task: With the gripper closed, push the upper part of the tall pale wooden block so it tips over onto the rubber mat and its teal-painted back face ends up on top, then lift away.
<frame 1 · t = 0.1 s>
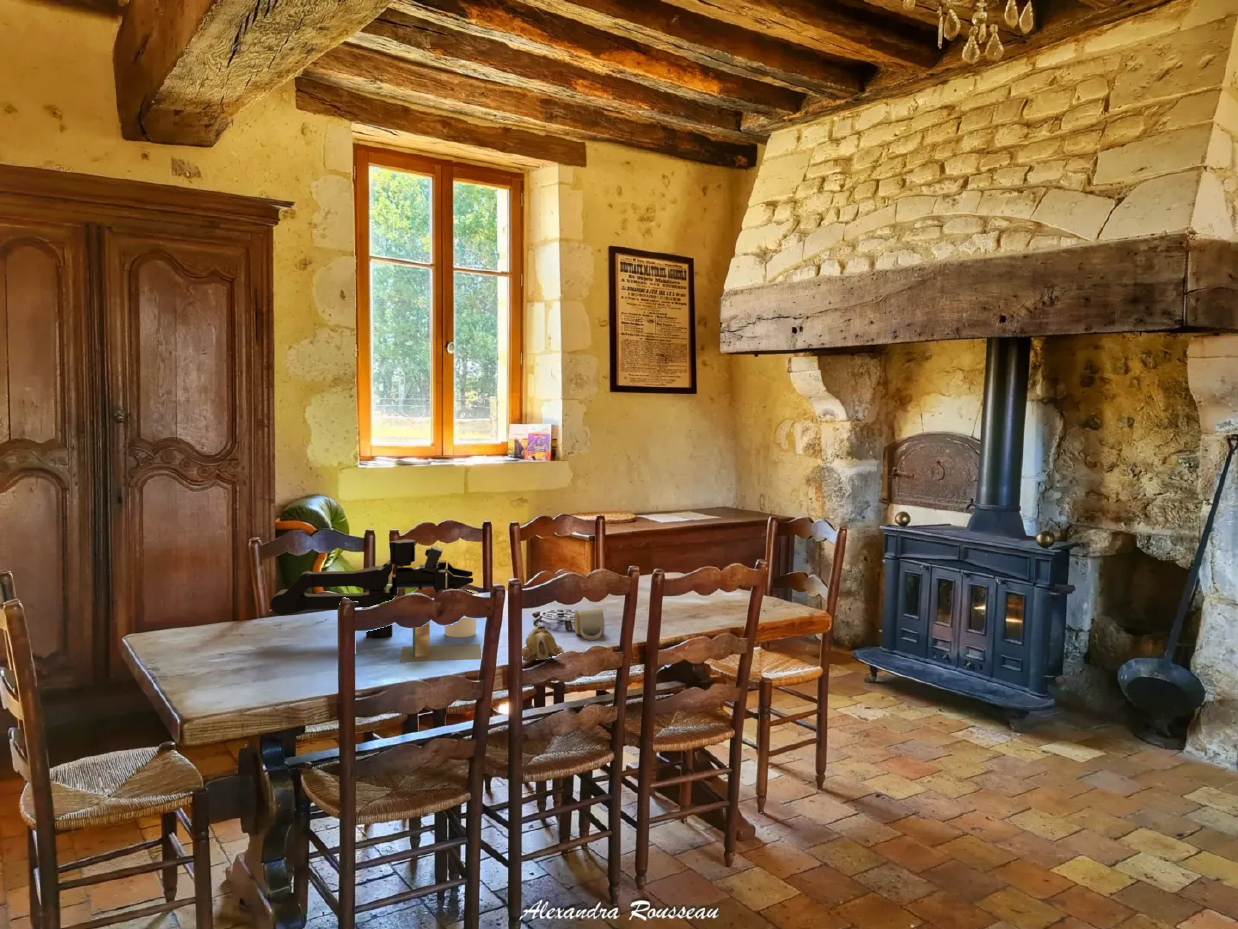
hand: (472, 576, 248), 17 cm above the table, fingers open, 9 cm apart
candle holder: (460, 636, 248), on the table
wooden block: (421, 653, 228), point 1 cm above the table, touching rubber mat
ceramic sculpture: (541, 660, 227), on the table
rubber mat: (441, 655, 229), on the table
ceramic mug: (590, 636, 251), on the table
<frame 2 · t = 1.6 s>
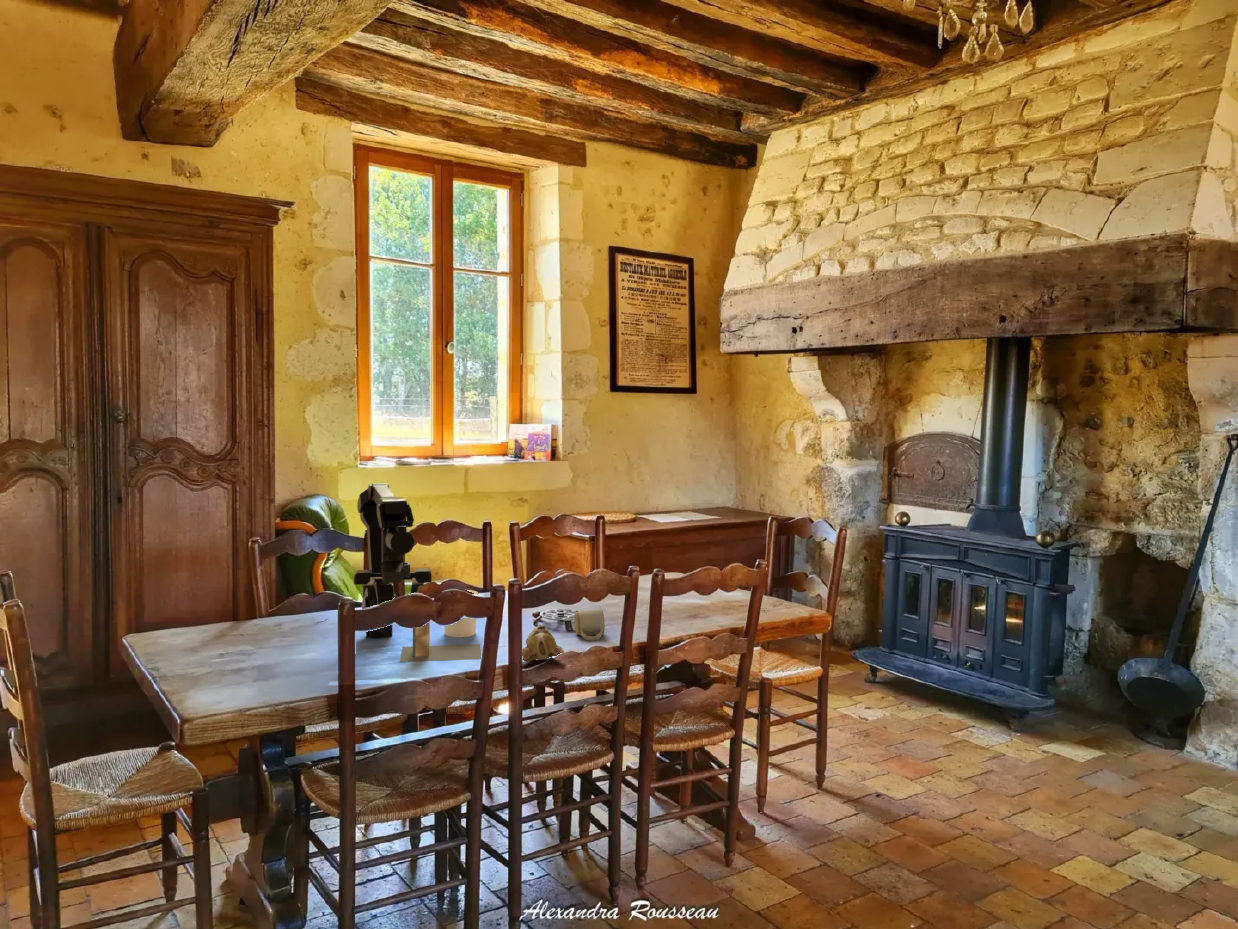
hand: (393, 610, 226), 12 cm above the table, fingers open, 8 cm apart
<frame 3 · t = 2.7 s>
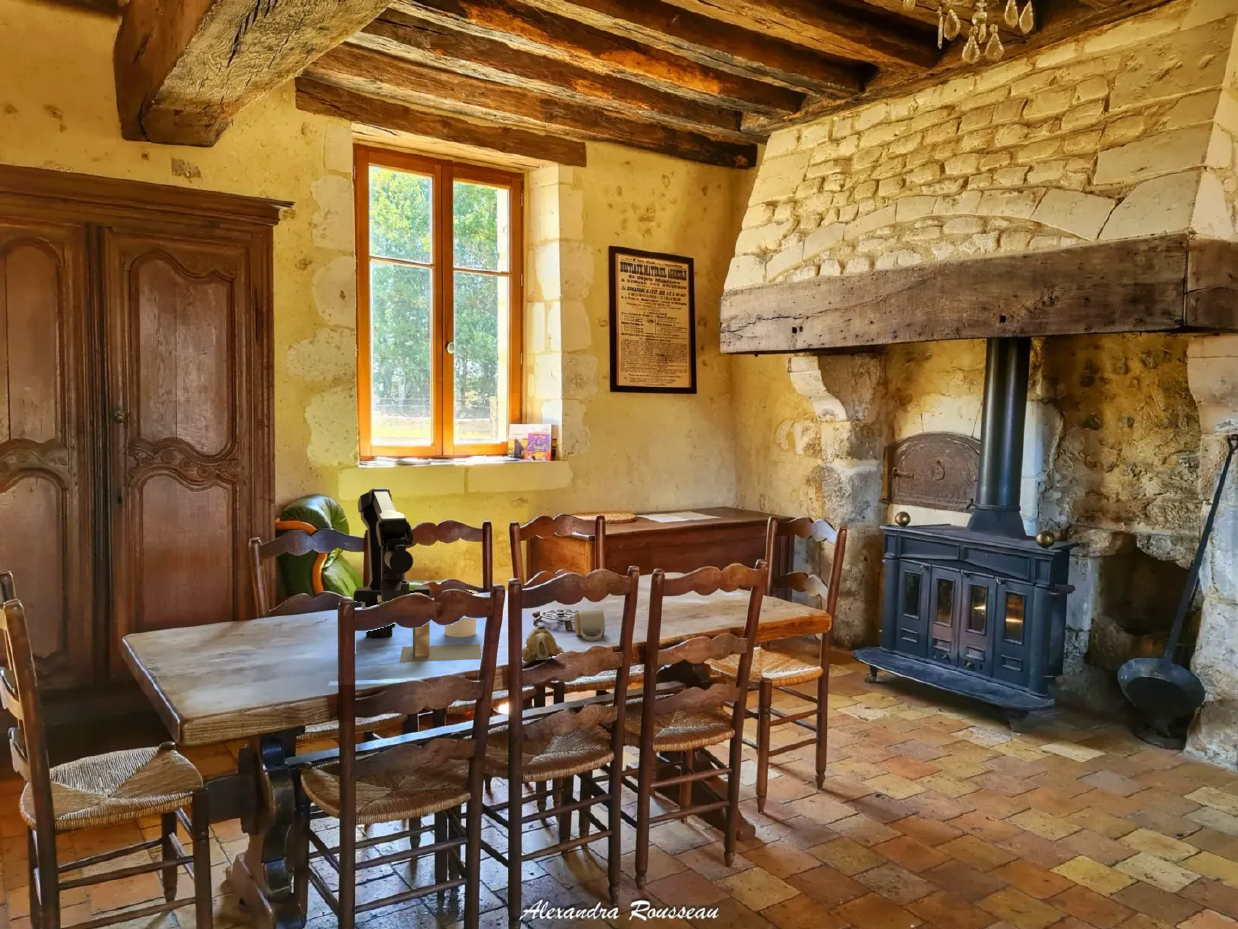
hand: (392, 627, 226), 8 cm above the table, fingers closed
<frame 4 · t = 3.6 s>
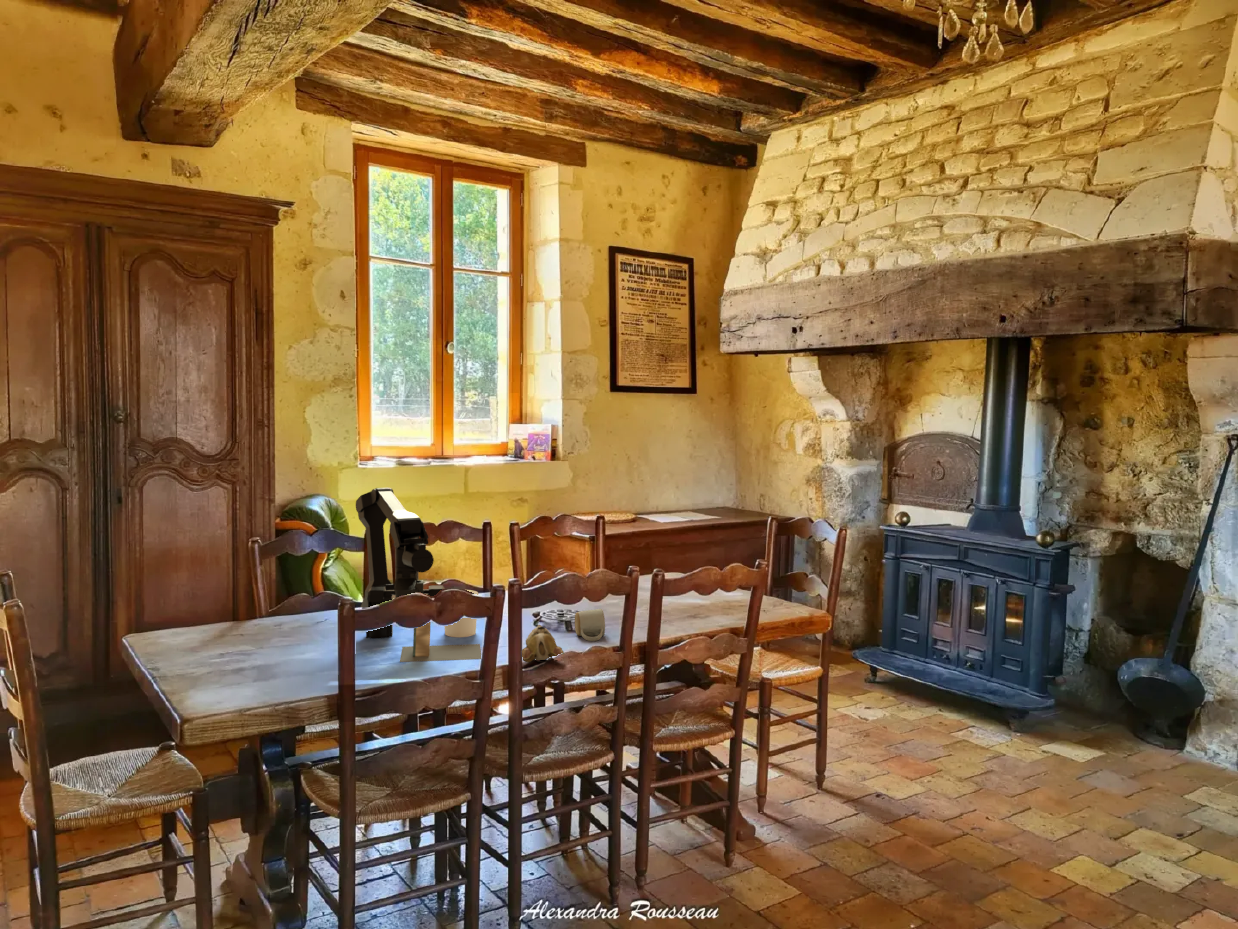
hand: (407, 627, 226), 8 cm above the table, fingers closed
wooden block: (421, 653, 228), point 1 cm above the table, touching gripper, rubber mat
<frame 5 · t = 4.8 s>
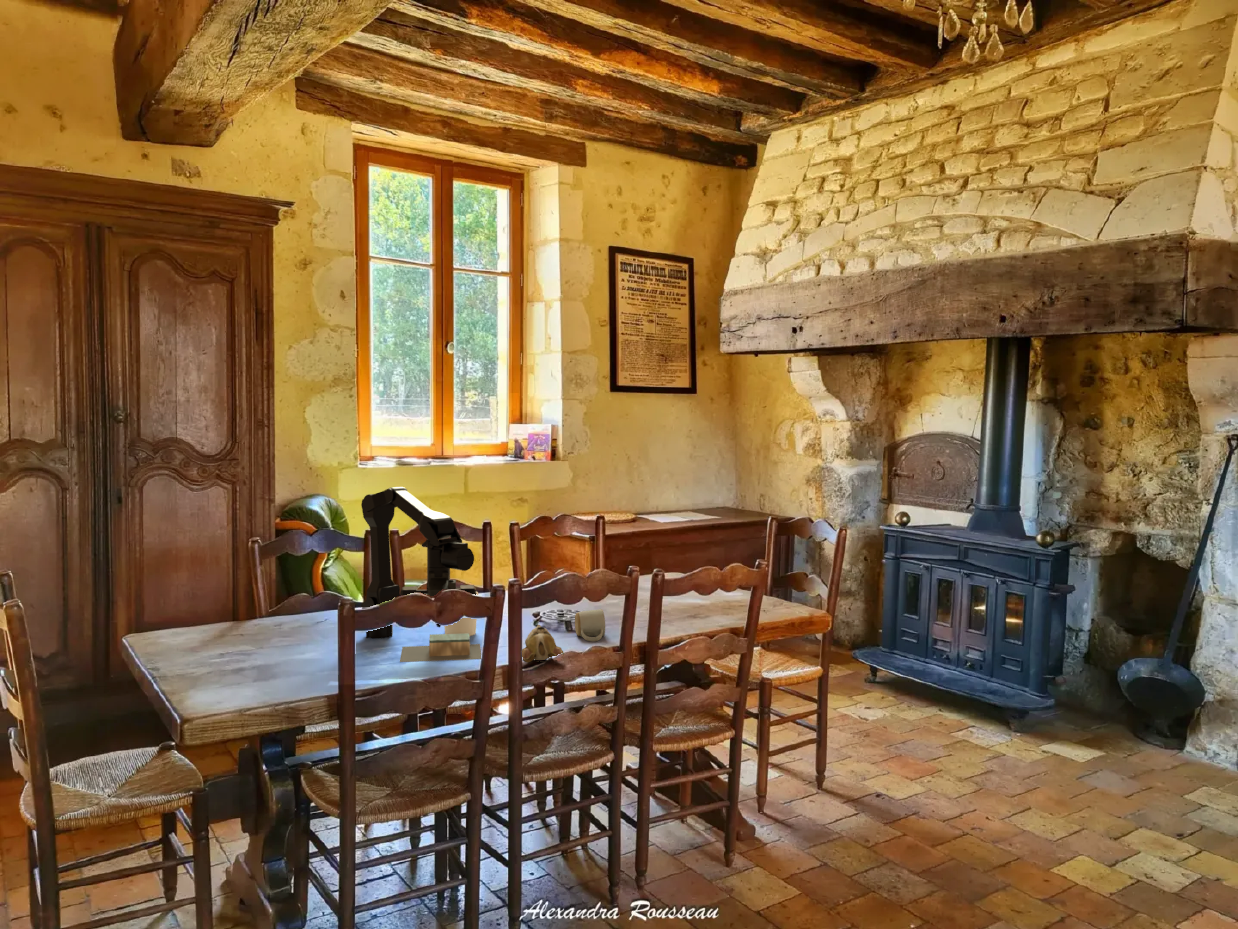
hand: (438, 626, 228), 8 cm above the table, fingers closed
wooden block: (429, 645, 228), point 3 cm above the table, tilted 90°, touching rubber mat
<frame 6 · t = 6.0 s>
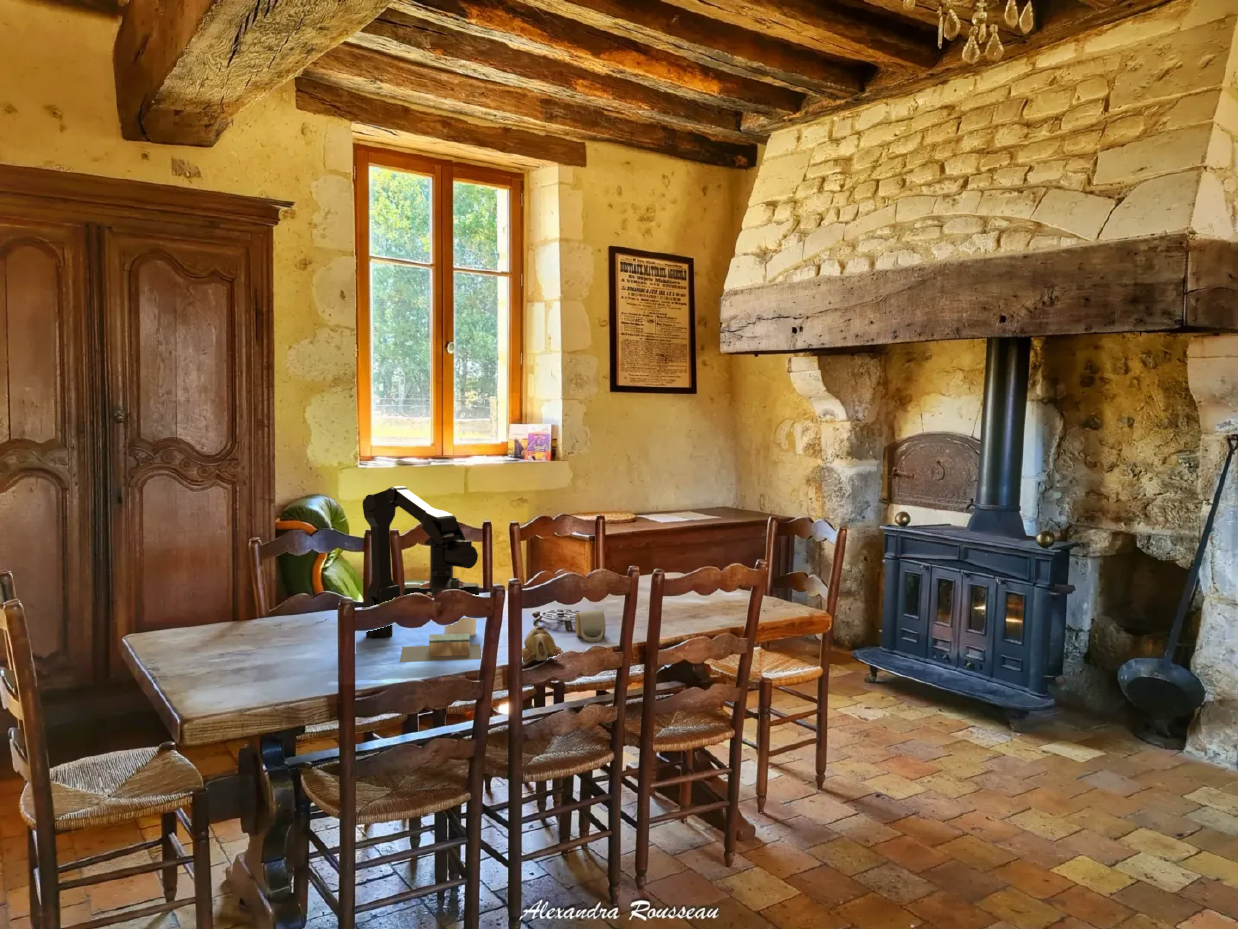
hand: (441, 624, 228), 8 cm above the table, fingers closed
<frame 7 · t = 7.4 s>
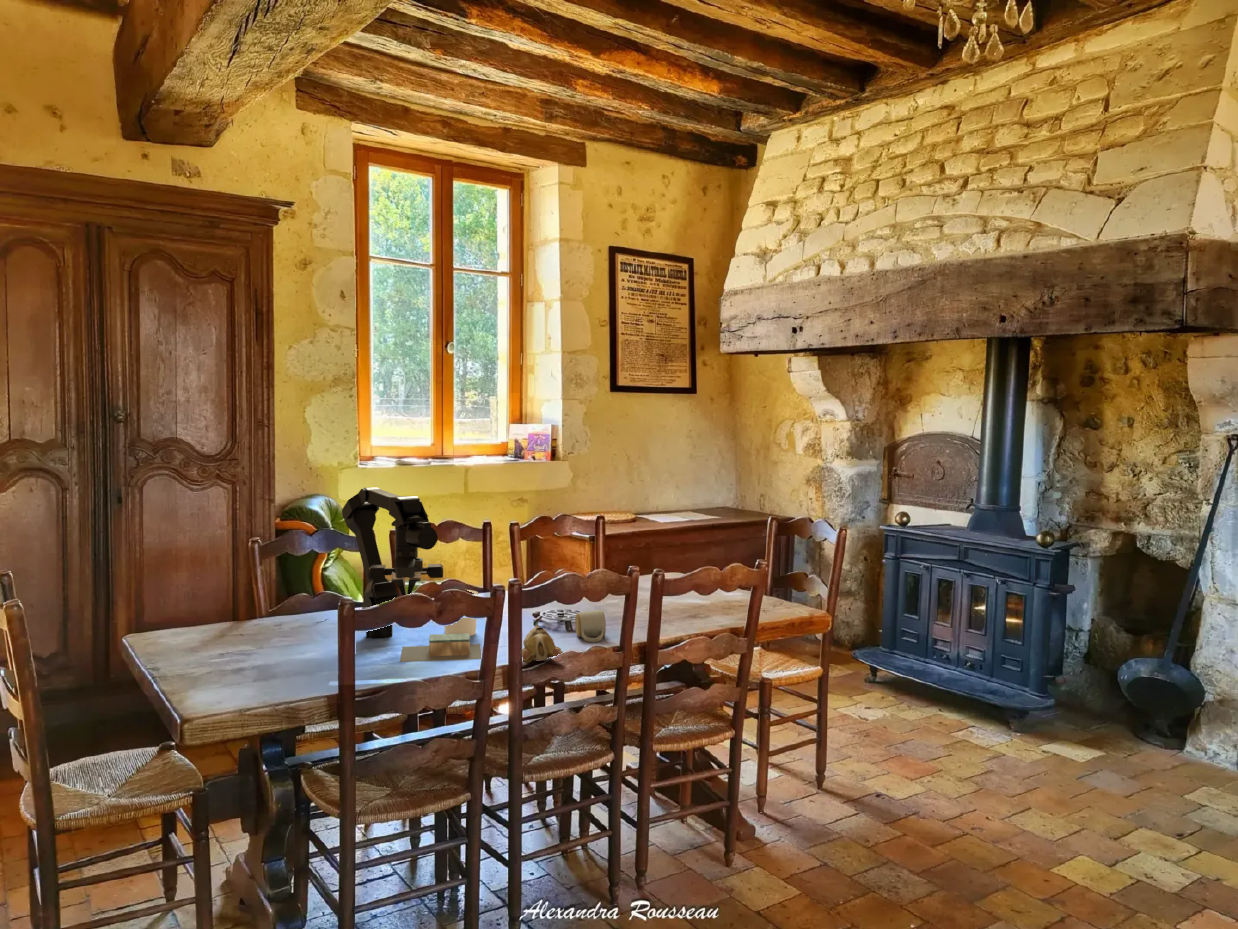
hand: (406, 604, 233), 12 cm above the table, fingers closed
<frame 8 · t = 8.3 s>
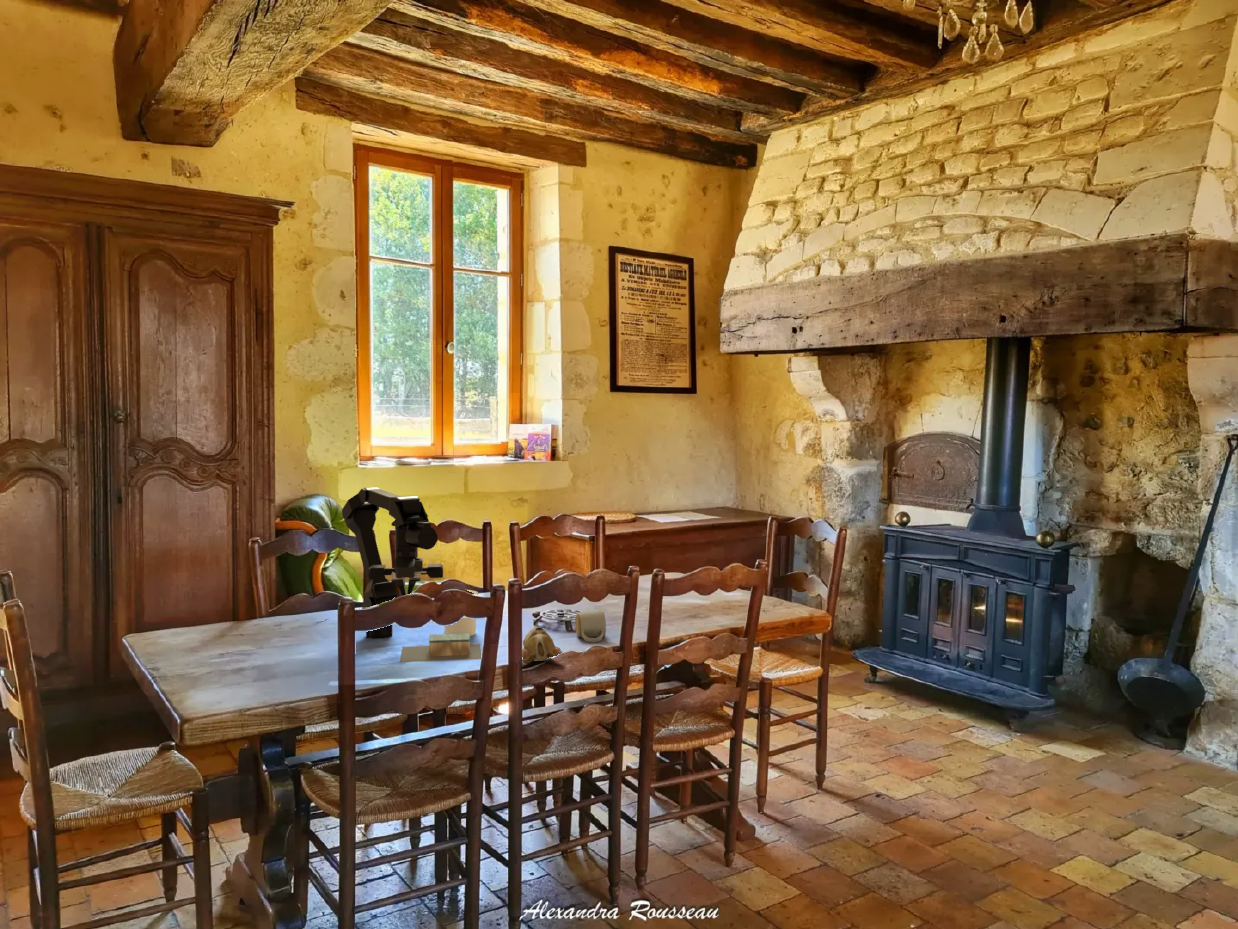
hand: (406, 604, 233), 12 cm above the table, fingers closed
at the end: wooden block tilted 90°; wooden block inside the target area (1.0 cm from its centre), point 2.8 cm above the table; wooden block touching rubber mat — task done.
